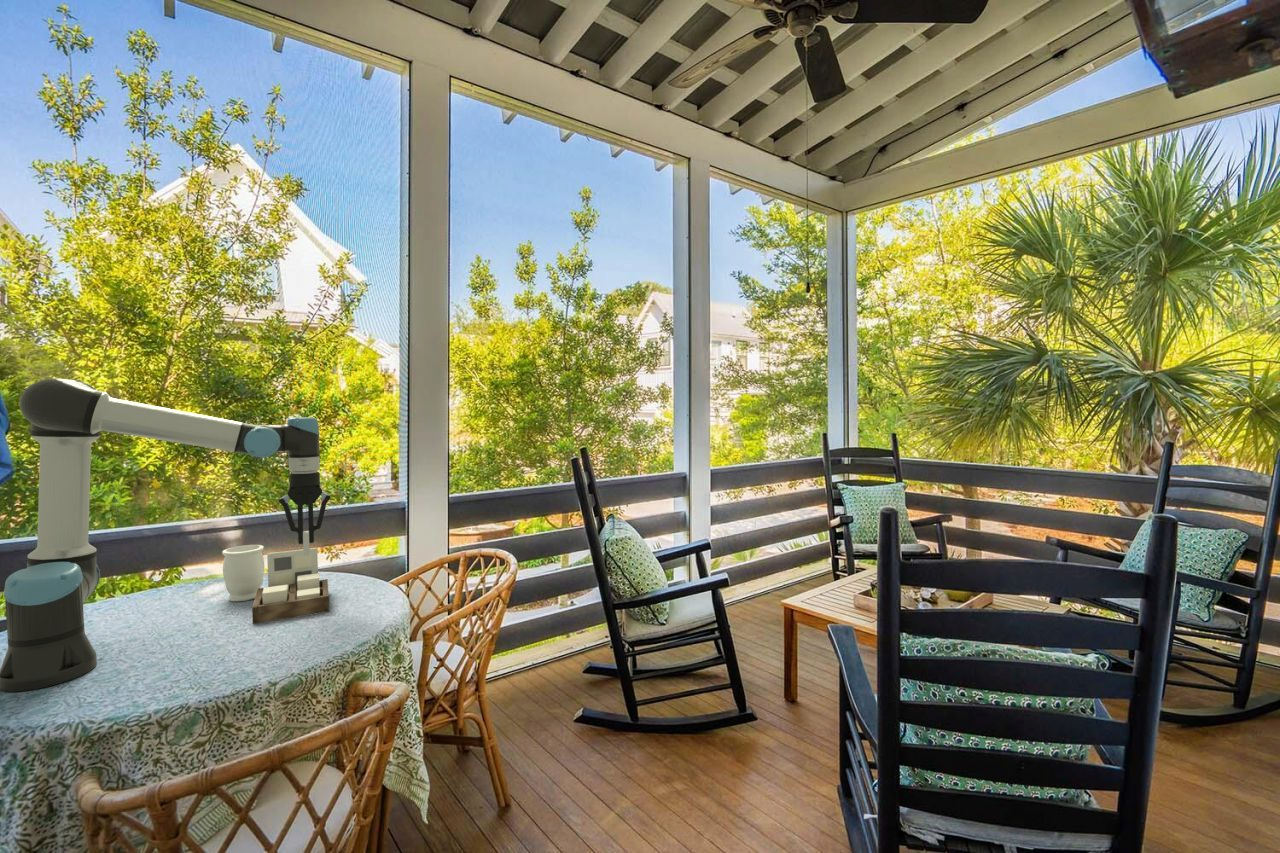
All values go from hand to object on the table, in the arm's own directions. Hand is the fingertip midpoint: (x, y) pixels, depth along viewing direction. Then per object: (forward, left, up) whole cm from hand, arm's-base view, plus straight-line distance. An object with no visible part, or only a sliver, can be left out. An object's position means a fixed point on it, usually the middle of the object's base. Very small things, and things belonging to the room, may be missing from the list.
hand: (306, 554), depth 165 cm
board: (-4, +4, -16) cm, 17 cm away
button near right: (0, 0, -15) cm, 15 cm away
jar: (-17, +22, -16) cm, 32 cm away
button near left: (-8, 0, -13) cm, 15 cm away
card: (-4, +15, -16) cm, 22 cm away
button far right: (0, +8, -13) cm, 15 cm away
